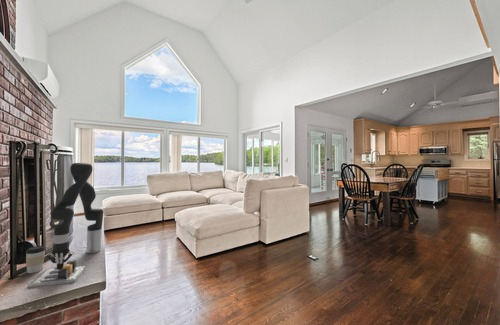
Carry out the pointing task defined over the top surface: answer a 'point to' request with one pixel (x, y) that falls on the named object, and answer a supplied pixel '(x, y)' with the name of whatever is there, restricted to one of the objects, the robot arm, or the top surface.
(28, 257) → the coffee cup
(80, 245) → the top surface
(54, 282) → the breaker panel
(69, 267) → the toggle
